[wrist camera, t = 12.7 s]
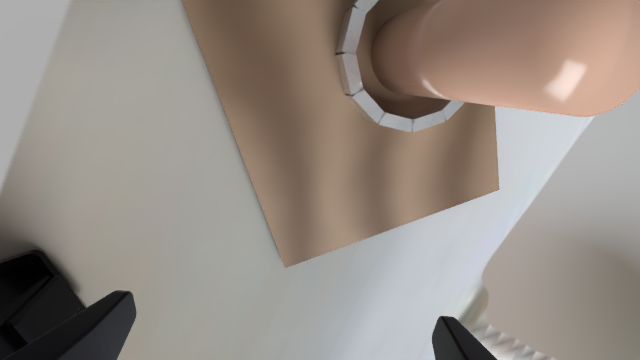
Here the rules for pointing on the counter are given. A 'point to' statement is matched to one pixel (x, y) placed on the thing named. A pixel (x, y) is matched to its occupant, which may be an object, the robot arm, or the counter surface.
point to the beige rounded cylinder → (515, 53)
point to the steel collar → (355, 88)
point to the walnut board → (333, 126)
